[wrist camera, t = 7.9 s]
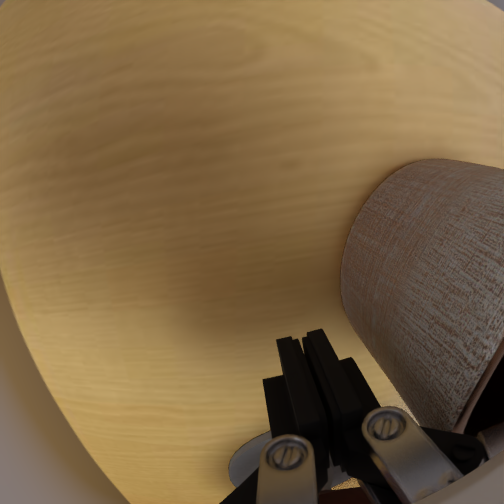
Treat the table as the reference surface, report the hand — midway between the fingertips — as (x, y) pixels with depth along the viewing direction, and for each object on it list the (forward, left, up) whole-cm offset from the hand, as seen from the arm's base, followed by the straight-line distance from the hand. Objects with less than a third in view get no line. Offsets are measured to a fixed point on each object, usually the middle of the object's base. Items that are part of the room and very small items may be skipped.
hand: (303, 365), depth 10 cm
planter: (0, +8, -5) cm, 10 cm away
